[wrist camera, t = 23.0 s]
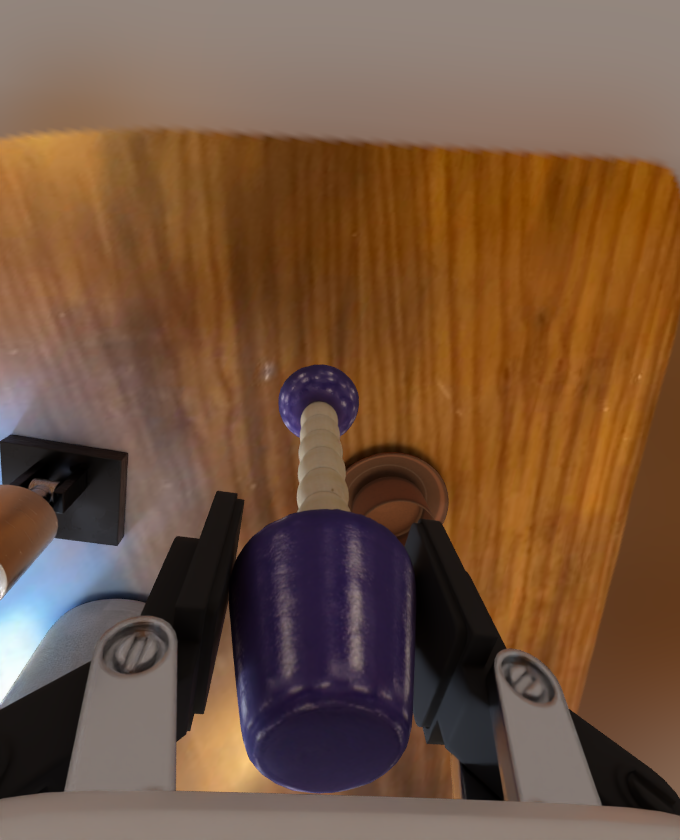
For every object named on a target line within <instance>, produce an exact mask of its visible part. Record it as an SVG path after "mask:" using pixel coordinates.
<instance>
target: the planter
mask: <svg viewBox="0 0 680 840" xmlns="http://www.w3.org/2000/svg"><path fill="white" fill-rule="evenodd" d="M145 604H146V603H144V602H140V601H136V600H128V599H105V600H97V601H92V602H88V603H85V604H82V605H80V606H77V607H75V608H73V609H71V610H70V611H68V612H66V613H65V614H64V615H63V616H61V617H60V618H59V619H58V620H57V621H56V622H55V624H54V625H53V626H52V627H51V628H50V629H49V631H48V632H47V634H46V635H45V637H44V638H43V640H42V641H41V643H40V644H39V646H38V647H37V649H36V650H35V652H34V653H33V655H32V656H31V658H30V659H29V661H28V662H27V664H26V665H25V667H24V668H23V670H22V672H21V673H20V675H19V676H18V678H17V679H16V681H15V682H14V684H13V685H12V687H11V688H10V690H9V691H8V693H7V694H6V696H5V698H4V699H3V701H2V702H1V704H0V709H2V708H4V707H6V706H8V705H9V704H11V703H13V702H15V701H17V700H19V699H21V698H22V697H24V696H26V695H28V694H30V693H32V692H34V691H35V690H37V689H39V688H41V687H43V686H45V685H47V684H48V683H50V682H52V681H54V680H56V679H58V678H60V677H62V676H63V675H65V674H67V673H69V672H71V671H73V670H75V669H76V668H78V667H80V666H82V665H84V664H86V663H88V662H89V661H91V660H92V655H93V651H94V648H95V646H96V643H97V641H98V640H99V639H100V637H101V636H102V635H103V634H104V632H105V631H107V630H108V629H109V628H111V627H112V626H113V625H115V624H116V623H118V622H121V621H123V620H125V619H127V618H131V617H136V616H140V615H141V612H142V610H143V608H144V606H145Z"/></svg>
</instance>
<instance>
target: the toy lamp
mask: <svg viewBox="0 0 680 840" xmlns="http://www.w3.org/2000/svg"><path fill="white" fill-rule="evenodd" d="M358 407H359V396H358V392H357V389H356V387H355V385H354V384H353V382H352V381H351V379H350V378H349V377H348V376H347V375H346V374H344V373H343V372H342V371H340V370H339V369H337V368H335V367H332V366H328V365H312V366H308V367H304V368H301V369H299V370H297V371H296V372H295V373H293V374H292V375H290V376H289V378H288V379H287V380H286V381H285V382H284V384H283V386H282V388H281V391H280V394H279V412H280V415H281V417H282V420H283V422H284V423H285V425H286V426H287V428H288V429H289V430H290V431H291V432H292V433H293V434H295V435H296V436H297V437H299V438H300V442H301V444H300V447H299V460H300V464H299V469H298V479H299V483H300V484H299V487H298V491H297V503H298V507H299V509H298V511H297V513H293V514H289V515H288V516H286V517H284V518H282V519H280V520H277V521H274V522H273V523H271V524H268V525H267V526H265V527H264V528H263V529H262V530H261V531H259V532H258V533H257V534H255V535H254V536H253V537H252V538H251V539H250V540H249V541H248V543H247V544H246V545H245V546H244V548H243V549H242V551H241V552H240V554H239V555H238V557H237V559H236V561H235V563H234V566H233V570H232V573H231V578H230V583H229V611H230V621H231V634H232V646H233V658H234V667H235V678H236V688H237V697H238V706H239V715H240V724H241V731H242V737H243V741H244V744H245V748H246V751H247V754H248V757H249V759H250V761H251V762H252V763H253V764H254V766H255V767H256V768H257V769H258V770H259V771H260V772H261V774H262V775H264V776H265V777H267V778H268V779H270V780H271V781H273V782H274V783H276V784H278V785H281V786H283V787H286V788H288V789H290V790H293V791H302V792H310V793H334V792H340V791H345V790H349V789H353V788H357V787H360V786H363V785H365V784H368V783H371V782H372V781H374V780H376V779H377V778H379V777H381V776H382V775H384V774H385V773H386V772H387V771H389V770H390V769H391V768H392V767H393V766H394V765H395V764H396V763H397V762H398V760H399V759H400V757H401V756H402V754H403V752H404V751H405V749H406V747H407V743H408V740H409V736H410V731H411V727H412V714H413V694H414V669H415V635H416V579H415V573H414V568H413V565H412V562H411V559H410V557H409V554H408V553H407V551H406V549H405V547H404V546H403V544H402V543H401V542H400V541H399V540H398V539H397V537H396V536H395V535H394V534H393V533H392V532H391V531H390V530H389V529H388V528H386V527H385V526H383V525H382V524H379V523H377V522H376V521H374V520H373V519H371V518H368V517H366V516H364V515H362V514H355V513H353V512H351V511H350V509H349V507H348V501H349V492H348V487H347V484H346V482H345V477H346V469H345V464H344V461H343V459H342V456H343V450H342V445H341V442H340V436H341V435H343V434H344V433H345V432H346V431H347V430H348V429H349V428H350V427H351V425H352V423H353V422H354V420H355V418H356V415H357V412H358Z"/></svg>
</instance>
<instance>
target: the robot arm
mask: <svg viewBox="0 0 680 840" xmlns="http://www.w3.org/2000/svg"><path fill="white" fill-rule="evenodd" d="M243 507H244V500H241V499H237V493H230V492H222V491H217V492H216V495H215V497H214V500H213V503H212V506H211V508H210V511H209V514H208V517H207V519H206V522H205V525H204V528H203V530H202V533H201V536H200V539H197V538H188V537H180V536H177V537H176V538H175V539H174V541H173V543H172V545H171V548H170V550H169V552H168V554H167V557H166V559H165V561H164V563H163V566H162V568H161V570H160V572H159V575H158V577H157V579H156V581H155V583H154V586H153V588H152V590H151V592H150V595H149V597H148V599H147V601H146V604H145V606H144V608H143V610H142V612H141V615H140V616H136V617H131V618H127V619H125V620H123V621H121V622H118V623H116V624H115V625H113V626H112V627H111V628H109V629H108V630H107V631H105V632H104V634H103V635H102V636H101V637H100V639H99V640H98V641H97V643H96V646H95V648H94V651H93V655H92V660H91V661H89V662H88V663H86V664H84V665H82V666H80V667H78V668H76V669H75V670H73V671H71V672H69V673H67V674H65V675H63V676H62V677H60V678H58V679H56V680H54V681H52V682H50V683H48V684H47V685H45V686H43V687H41V688H39V689H37V690H35V691H34V692H32V693H30V694H28V695H26V696H24V697H22V698H21V699H19V700H17V701H15V702H13V703H11V704H9V705H8V706H6V707H4V708H2V709H0V840H680V798H679V797H678V795H677V794H676V792H675V791H674V790H673V789H672V788H671V787H670V786H669V785H668V784H667V782H665V780H664V779H663V778H661V777H660V776H659V775H658V774H657V773H656V772H654V771H653V770H652V769H651V768H649V767H648V766H647V765H645V764H644V763H642V762H641V761H640V760H638V759H637V758H636V757H634V756H633V755H632V754H630V753H629V752H627V751H626V750H625V749H623V748H622V747H621V746H619V745H618V744H616V743H615V742H614V741H612V740H611V739H610V738H608V737H607V736H605V735H604V734H603V733H601V732H600V731H598V730H597V729H596V728H594V727H593V726H592V725H590V724H589V723H587V722H586V721H585V720H583V719H582V718H581V717H579V716H578V715H577V714H575V713H574V712H572V711H571V710H570V709H568V706H567V703H566V700H565V697H564V694H563V692H562V689H561V686H560V684H559V682H558V680H557V678H556V677H555V676H554V674H553V673H552V672H551V671H550V669H549V668H548V667H547V666H545V665H544V664H543V663H542V662H541V661H540V660H538V659H537V658H535V657H534V656H532V655H531V654H528V653H526V652H524V651H521V650H517V649H506V647H505V645H504V643H503V641H502V639H501V637H500V635H499V633H498V631H497V629H496V627H495V625H494V623H493V621H492V619H491V617H490V615H489V613H488V611H487V609H486V607H485V605H484V603H483V601H482V599H481V597H480V595H479V593H478V591H477V589H476V587H475V585H474V583H473V581H472V579H471V577H470V575H469V574H468V573H467V572H466V571H465V569H464V567H463V565H462V563H461V561H460V559H459V557H458V555H457V553H456V551H455V549H454V547H453V545H452V543H451V541H450V539H449V537H448V535H447V533H446V531H445V529H444V527H443V525H442V523H441V522H440V521H436V520H429V519H419V521H418V523H413V524H412V525H411V528H410V531H409V534H408V537H407V540H406V543H405V546H404V547H405V549H406V551H407V553H408V554H409V557H410V559H411V562H412V565H413V568H414V573H415V579H416V635H415V669H414V694H413V714H414V718H415V721H416V724H417V726H419V727H423V731H424V735H425V739H426V743H427V744H441V745H445V748H446V749H447V750H448V751H449V752H451V760H450V761H451V776H452V790H453V799H436V798H406V797H376V796H345V795H313V794H276V793H238V792H201V791H176V742H177V741H178V740H179V739H181V738H182V737H183V736H185V735H186V732H187V731H190V729H191V725H192V721H193V717H194V714H204V711H205V707H206V702H207V697H208V693H209V688H210V683H211V679H212V674H213V670H214V665H215V660H216V656H217V651H218V646H219V642H220V637H221V633H222V628H223V623H224V619H225V614H226V609H227V605H228V600H229V583H230V578H231V573H232V570H233V566H234V563H235V560H236V554H237V547H238V540H239V534H240V527H241V520H242V513H243Z"/></svg>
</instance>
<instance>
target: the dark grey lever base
mask: <svg viewBox="0 0 680 840" xmlns="http://www.w3.org/2000/svg"><path fill="white" fill-rule="evenodd" d="M0 453H1V468H2V483H3V485H15V486H20V487H23V488H26V489H28V486H29V484H30V483H31V481H32V480H33V479H35V478H41V479H47V480H54V481H61V482H63V483H62V484H61V485H60V486H59V487H58V488H57V489H56V490H55V491H54V492H53V503H52V502H50V503H49V504H50V506H51V507H52V508H53V510H54V512H55V514H56V516H57V520H58V530H57V533H56V536H55V537H54V538H59V539H66V540H74V541H82V542H90V543H98V544H106V545H114V546H118V544H119V543H120V541H121V540H122V538H123V536H124V517H125V498H126V479H127V460H128V453H123V452H117V451H110V450H104V449H98V448H92V447H85V446H79V445H73V444H66V443H60V442H54V441H48V440H41V439H35V438H29V437H22V436H16V435H9V436H8V437H6V438H5V439H3V440H1V441H0Z"/></svg>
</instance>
